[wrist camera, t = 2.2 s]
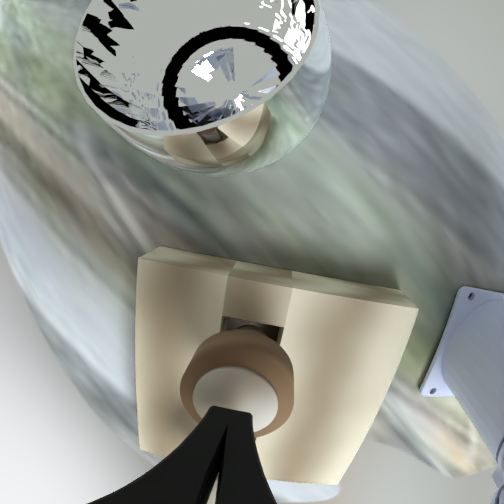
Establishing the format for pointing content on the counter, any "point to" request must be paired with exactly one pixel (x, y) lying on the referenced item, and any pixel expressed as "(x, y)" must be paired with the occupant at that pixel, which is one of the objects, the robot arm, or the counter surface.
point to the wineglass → (206, 77)
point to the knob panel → (289, 338)
